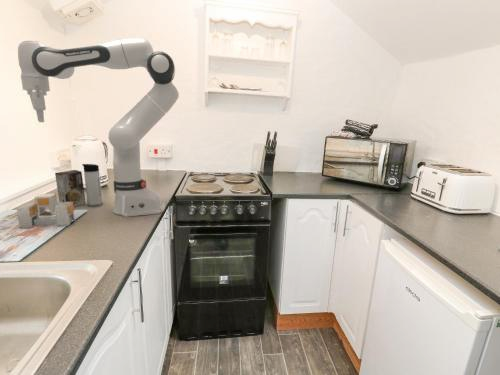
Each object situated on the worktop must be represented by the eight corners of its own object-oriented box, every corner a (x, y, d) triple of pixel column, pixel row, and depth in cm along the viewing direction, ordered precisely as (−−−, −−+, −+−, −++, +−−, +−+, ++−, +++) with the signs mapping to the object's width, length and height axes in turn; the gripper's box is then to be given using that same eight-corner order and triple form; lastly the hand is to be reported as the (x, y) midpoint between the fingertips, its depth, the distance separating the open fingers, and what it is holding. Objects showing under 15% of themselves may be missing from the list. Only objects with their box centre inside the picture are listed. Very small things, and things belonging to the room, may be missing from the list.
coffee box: (78, 201, 146) (74, 169, 142) (86, 203, 142) (82, 171, 138) (59, 206, 138) (54, 172, 134) (66, 208, 135) (62, 174, 131)
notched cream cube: (42, 211, 130) (40, 194, 128) (58, 210, 132) (56, 193, 130) (36, 215, 125) (33, 197, 123) (52, 215, 126) (50, 197, 124)
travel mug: (85, 204, 141) (80, 163, 136) (99, 202, 146) (95, 162, 141) (89, 207, 137) (84, 165, 132) (104, 205, 141) (100, 163, 136)
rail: (76, 220, 121) (74, 201, 119) (70, 225, 115) (68, 206, 113) (28, 222, 118) (25, 202, 116) (19, 227, 112) (16, 207, 110)
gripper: (47, 85, 110) (52, 122, 114) (44, 88, 126) (49, 121, 130) (26, 83, 107) (31, 122, 110) (26, 86, 123) (31, 120, 126)
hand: (41, 121), depth 120 cm, fingers open, 8 cm apart
